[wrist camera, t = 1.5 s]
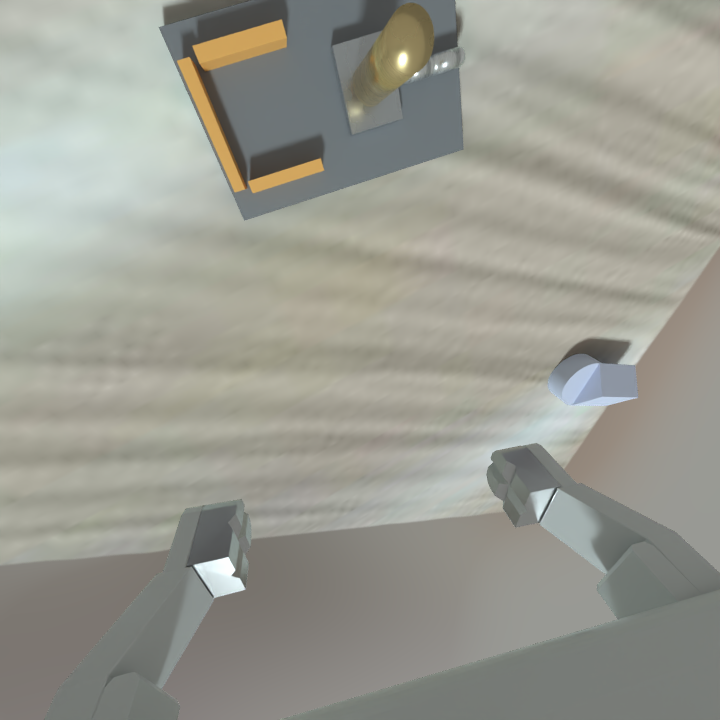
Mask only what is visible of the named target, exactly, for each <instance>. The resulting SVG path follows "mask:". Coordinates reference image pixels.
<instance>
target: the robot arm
mask: <svg viewBox="0 0 720 720" xmlns="http://www.w3.org/2000/svg"><path fill="white" fill-rule="evenodd" d="M491 460H492V461H493V463H492V464H491V465H490V466H489V467H488V470H487V480H488V484H489V486H490V488H491V490H492V492H493V493H494V495H495V496H496V497H498V498H499V499H501V500H503V509H504V511H505V512H506V514H507V515H508V517H509V519H510V520H511V522H512V523H513V525H514V526H515V527H520V526H525V525H530V524H535V523H540V525H541V526H543V527H544V528H545V529H546V530H548V531H549V532H550V533H552V534H553V535H554V536H556V537H557V538H558V539H560V540H561V541H562V542H564V543H565V544H566V545H568V546H569V547H570V548H572V549H573V550H574V551H575V552H577V553H578V554H579V555H581V556H582V557H583V558H585V559H586V560H587V561H589V562H590V563H591V564H593V565H594V566H595V567H596V568H598V569H599V570H600V571H602V572H603V573H604V574H606V575H605V576H604V578H603V579H602V580H601V581H600V582H599V584H598V585H597V591H598V593H599V594H600V595H601V597H602V598H603V600H604V601H605V602H606V604H607V605H608V606H609V608H610V609H611V611H612V612H613V613H614V615H615V616H616V618H617V619H618V620H614V621H611V622H608V623H604V624H601V625H597V626H594V627H591V628H587V629H584V630H581V631H577V632H574V633H570V634H567V635H564V636H560V637H557V638H554V639H550V640H547V641H543V642H540V643H537V644H533V645H530V646H527V647H523V648H520V649H516V650H513V651H510V652H506V653H503V654H499V655H496V656H493V657H489V658H486V659H483V660H479V661H476V662H473V663H469V664H466V665H462V666H459V667H456V668H452V669H449V670H445V671H442V672H439V673H435V674H432V675H429V676H425V677H422V678H418V679H415V680H412V681H409V682H405V683H402V684H398V685H395V686H391V687H388V688H385V689H381V690H378V691H375V692H371V693H368V694H364V695H361V696H358V697H354V698H351V699H348V700H344V701H341V702H337V703H334V704H331V705H327V706H324V707H321V708H317V709H314V710H311V711H307V712H304V713H300V714H297V715H294V716H290V717H287V718H284V719H280V720H720V573H719V572H718V571H717V570H716V569H715V568H714V567H713V566H712V565H710V563H708V562H707V561H706V560H705V559H704V558H703V557H702V556H701V555H700V554H699V553H698V552H697V551H695V550H694V549H693V548H692V547H691V546H690V545H689V544H688V543H687V542H686V541H685V540H684V539H683V538H682V537H681V536H680V535H678V534H677V533H676V532H675V531H673V530H671V529H669V528H667V527H665V526H663V525H661V524H659V523H657V522H655V521H653V520H651V519H650V518H648V517H646V516H644V515H642V514H640V513H638V512H636V511H634V510H632V509H630V508H628V507H626V506H624V505H623V504H621V503H618V502H617V501H615V500H613V499H611V498H609V497H607V496H605V495H603V494H601V493H599V492H597V491H595V490H593V489H592V488H590V487H588V486H586V485H584V484H582V483H579V484H577V483H576V482H575V481H574V480H573V479H572V478H571V477H570V476H569V475H568V474H567V473H566V471H565V470H564V469H563V468H562V467H561V466H560V465H559V464H558V463H557V462H556V461H555V460H554V459H553V457H552V456H551V455H550V454H549V453H548V452H547V451H546V450H545V449H544V448H543V447H542V446H541V445H539V444H537V443H535V444H529V445H524V446H517V447H512V448H507V449H502V450H498V451H495V452H493V453H492V456H491ZM244 507H245V505H244V503H243V501H242V499H239V500H233V501H227V502H221V503H215V504H210V505H203V506H198V507H192V508H187V509H185V511H184V512H183V514H182V515H181V518H180V521H179V524H178V527H177V530H176V533H175V537H174V540H173V543H172V546H171V549H170V552H169V556H168V558H167V561H166V564H165V567H164V570H163V572H162V573H158V574H156V575H155V577H154V578H153V579H152V580H151V581H150V582H149V583H148V585H147V586H146V587H145V588H144V589H143V590H142V592H141V593H140V594H139V595H138V596H137V597H136V599H135V600H134V601H133V602H132V603H131V604H130V606H129V607H128V608H127V609H126V610H125V611H124V613H123V614H122V615H121V616H120V617H119V619H118V620H117V621H116V622H115V623H114V624H113V625H112V627H111V628H110V629H109V630H108V631H107V633H106V634H105V635H104V636H103V637H102V638H101V639H100V641H99V642H98V643H97V644H96V645H95V647H94V648H93V649H92V650H91V651H90V652H89V654H88V655H87V656H86V657H85V658H84V660H82V662H81V663H80V664H79V665H78V666H77V667H76V669H75V670H74V671H73V672H72V673H71V674H70V676H69V677H68V678H67V679H66V680H65V681H64V683H63V684H62V685H61V686H60V687H59V688H58V690H57V693H56V695H55V697H54V699H53V701H52V703H51V706H50V708H49V710H48V712H47V715H46V717H45V719H44V720H177V719H178V714H179V710H180V705H179V703H178V701H177V700H176V699H175V698H173V697H172V696H170V695H169V694H167V693H166V692H164V691H163V690H162V688H163V686H164V684H165V683H166V681H167V679H168V677H169V676H170V674H171V672H172V671H173V669H174V667H175V666H176V664H177V662H178V660H179V659H180V657H181V655H182V654H183V652H184V650H185V648H186V647H187V645H188V643H189V642H190V640H191V638H192V637H193V635H194V633H195V631H196V630H197V628H198V626H199V625H200V623H201V621H202V619H203V618H204V616H205V615H206V613H207V611H208V609H209V608H210V606H211V604H212V603H213V601H214V599H213V598H215V597H219V596H223V595H227V594H231V593H234V592H238V591H242V590H245V589H246V582H247V573H248V565H249V563H248V561H247V559H246V556H245V554H246V553H247V551H248V550H249V548H250V547H251V522H250V518H249V515H248V514H247V513H245V512H244Z"/></svg>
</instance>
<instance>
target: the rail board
mask: <svg viewBox="0 0 720 720" xmlns="http://www.w3.org/2000/svg"><path fill="white" fill-rule="evenodd" d="M406 3H416V4H419V5H420V6H422V7H423V8H424V9H425V10H426V11H427V13H428V14H429V16H430V18H431V21H432V24H433V28H434V46H433V51H432V54H431V56H432V55H434V54H435V53H439V52H442V51H445V50H448V49H451V48H455V47H458V46H457V28H456V11H455V0H250V1H247V2H243V3H240V4H236V5H233V6H230V7H226V8H223V9H219V10H216V11H213V12H209V13H206V14H202V15H199V16H196V17H192V18H189V19H185V20H182V21H179V22H175V23H172V24H168V25H165V26H161V27H159V29H160V31H161V33H162V36H163V38H164V40H165V42H166V45H167V47H168V49H169V51H170V54H171V56H172V58H173V61H174V63H175V65H176V67H177V70H178V72H179V74H180V76H181V79H182V81H183V83H184V85H185V88H186V90H187V92H188V94H189V97H190V99H191V101H192V103H193V106H194V108H195V110H196V112H197V115H198V117H199V119H200V121H201V124H202V126H203V128H204V130H205V133H206V135H207V137H208V139H209V142H210V144H211V146H212V148H213V151H214V153H215V155H216V157H217V160H218V162H219V164H220V166H221V169H222V171H223V173H224V176H225V178H226V180H227V182H228V185H229V187H230V189H231V191H232V194H233V196H234V198H235V200H236V203H237V205H238V207H239V209H240V212H241V214H242V216H243V218H244V220H248V219H251V218H254V217H257V216H260V215H263V214H266V213H269V212H272V211H275V210H278V209H281V208H284V207H287V206H291V205H294V204H297V203H300V202H303V201H306V200H309V199H312V198H315V197H318V196H321V195H324V194H327V193H331V192H334V191H337V190H340V189H343V188H346V187H349V186H352V185H355V184H358V183H361V182H364V181H367V180H371V179H374V178H377V177H380V176H383V175H386V174H389V173H392V172H395V171H398V170H401V169H404V168H407V167H411V166H414V165H417V164H420V163H423V162H426V161H429V160H432V159H435V158H438V157H441V156H444V155H447V154H450V153H454V152H457V151H460V150H463V133H462V115H461V98H460V80H459V68H457V69H454V70H451V71H448V72H444V73H441V74H438V75H432V76H430V77H428V78H425V79H422V80H419V81H416V82H412V83H409V84H402V85H401V86H400V87H399V95H400V102H401V109H402V116H403V119H401V120H399V121H395V122H392V123H389V124H386V125H383V126H380V127H377V128H373V129H370V130H367V131H364V132H361V133H358V134H354V135H351V136H350V133H349V128H348V124H347V119H346V115H345V111H344V106H343V102H342V97H341V93H340V89H339V84H338V80H337V75H336V71H335V67H334V62H333V58H332V53H331V48H332V46H333V45H336V44H340V43H343V42H346V41H350V40H353V39H356V38H359V37H363V36H366V35H369V34H373V33H376V32H379V31H382V30H383V29H384V27H385V26H386V24H387V23H388V21H389V20H390V18H391V17H392V15H393V14H394V12H395V11H396V10H397V9H398V8H399V7H400V6H402V5H403V4H406Z"/></svg>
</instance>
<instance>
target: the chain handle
mask: <svg viewBox="0 0 720 720" xmlns="http://www.w3.org/2000/svg"><path fill="white" fill-rule="evenodd" d="M433 46H434V28H433V24H432V21H431V18H430V16H429V14H428V13H427V11H426V10H425V9H424V8H423V7H422V6H420V5H419V4H416V3H406V4H403V5H402V6H400V7H399V8H398V9H397V10H396V11H395V12H394V14H393V15H392V17H391V18H390V20H389V21H388V23H387V24H386V26H385V27H384V29H383V30H382V31H379V32H376V33H373V34H369V35H366V36H363V37H359V38H356V39H353V40H350V41H346V42H343V43H340V44H336V45H333V46H332V48H331V53H332V58H333V62H334V67H335V71H336V75H337V80H338V84H339V89H340V93H341V97H342V102H343V106H344V111H345V115H346V119H347V124H348V128H349V133H350V136H351V135H354V134H358V133H361V132H364V131H367V130H370V129H373V128H377V127H380V126H383V125H386V124H389V123H392V122H395V121H399V120H401V119H403V116H402V109H401V102H400V95H399V87H400V86H401V85H402V84H409V83H412V82H416V81H419V80H422V79H425V78H428V77H430V76H432V75H438V74H441V73H444V72H448V71H451V70H454V69H457V68H459V67H461V65H462V64H463V63H464V60H465V51H464V49H463V48H462V47H455V48H451V49H448V50H445V51H442V52H439V53H435V54H434V55H432V56H431V54H432V51H433Z"/></svg>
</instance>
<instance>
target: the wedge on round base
mask: <svg viewBox="0 0 720 720" xmlns="http://www.w3.org/2000/svg"><path fill="white" fill-rule="evenodd" d="M548 389H549V390H550V392H552V393H553V394H554V395H555V396H557V397H558V398H559V399H560V400H562V401H563V402H564V403H565V404H567V405H587V406H607V405H611V404H615V403H619V402H622V401H626V400H630V399H634V398H638V390H637V380H636V370H635V365H621V364H605V363H601V362H599V361H598V360H596V359H594V358H592V357H591V356H589V355H587V354H576V355H573V356H570V357H568V358H567V359H565V360H563V361H562V362H561V363H560V364H559V365H558V366H557V367H556V368H555V369H554V370H553V372H552V373H551V375H550V377H549V380H548Z"/></svg>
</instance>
